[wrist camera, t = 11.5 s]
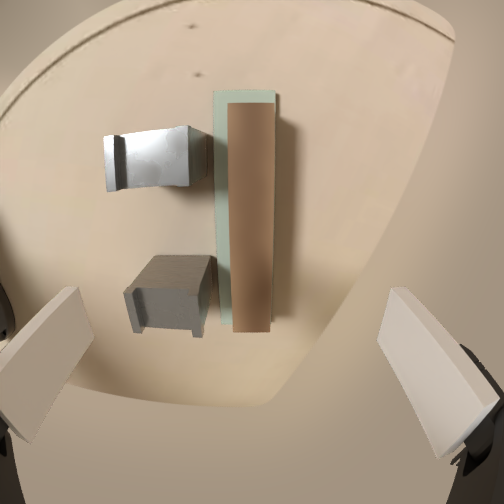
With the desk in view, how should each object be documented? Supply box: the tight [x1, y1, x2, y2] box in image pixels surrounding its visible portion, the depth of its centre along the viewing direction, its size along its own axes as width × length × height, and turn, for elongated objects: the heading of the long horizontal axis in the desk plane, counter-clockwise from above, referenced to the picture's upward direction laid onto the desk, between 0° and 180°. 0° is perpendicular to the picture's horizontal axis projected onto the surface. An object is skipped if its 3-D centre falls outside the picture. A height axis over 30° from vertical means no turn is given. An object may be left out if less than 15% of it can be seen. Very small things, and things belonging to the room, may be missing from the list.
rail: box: [227, 103, 275, 332], centre depth 23 cm, size 4×20×4 cm, turn 0°
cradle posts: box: [104, 125, 213, 338], centre depth 22 cm, size 6×16×8 cm, turn 0°
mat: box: [213, 90, 276, 325], centre depth 25 cm, size 6×24×1 cm, turn 0°
